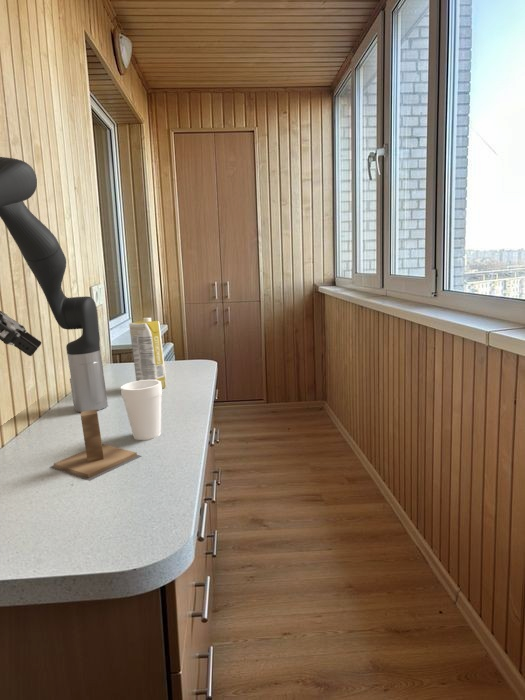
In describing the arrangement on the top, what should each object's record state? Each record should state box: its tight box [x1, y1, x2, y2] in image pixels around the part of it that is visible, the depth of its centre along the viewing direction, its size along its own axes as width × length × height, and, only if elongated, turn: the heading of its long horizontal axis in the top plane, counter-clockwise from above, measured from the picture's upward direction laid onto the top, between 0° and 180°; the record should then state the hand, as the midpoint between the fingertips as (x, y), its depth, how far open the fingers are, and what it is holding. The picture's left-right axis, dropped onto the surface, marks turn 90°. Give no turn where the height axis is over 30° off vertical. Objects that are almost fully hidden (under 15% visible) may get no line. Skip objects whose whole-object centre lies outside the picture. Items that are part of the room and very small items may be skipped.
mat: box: [49, 454, 142, 482], centre depth 103 cm, size 14×13×1 cm
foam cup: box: [120, 380, 163, 441], centre depth 115 cm, size 10×9×13 cm
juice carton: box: [128, 317, 168, 390], centre depth 161 cm, size 9×8×24 cm
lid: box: [53, 410, 138, 478], centre depth 102 cm, size 12×12×11 cm
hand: (36, 349), depth 97 cm, fingers open, 8 cm apart
